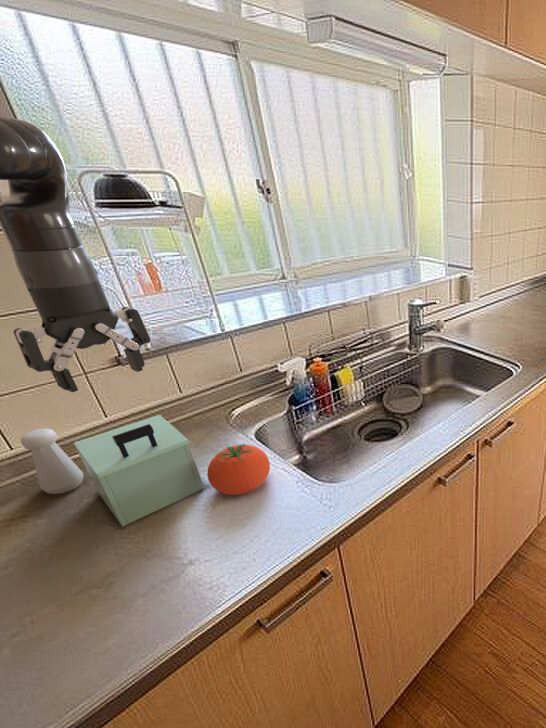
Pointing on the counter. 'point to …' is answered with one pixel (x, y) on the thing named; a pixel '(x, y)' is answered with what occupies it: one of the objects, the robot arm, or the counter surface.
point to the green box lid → (129, 445)
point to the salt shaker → (51, 462)
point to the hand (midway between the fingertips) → (106, 379)
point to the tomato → (238, 469)
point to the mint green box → (148, 484)
